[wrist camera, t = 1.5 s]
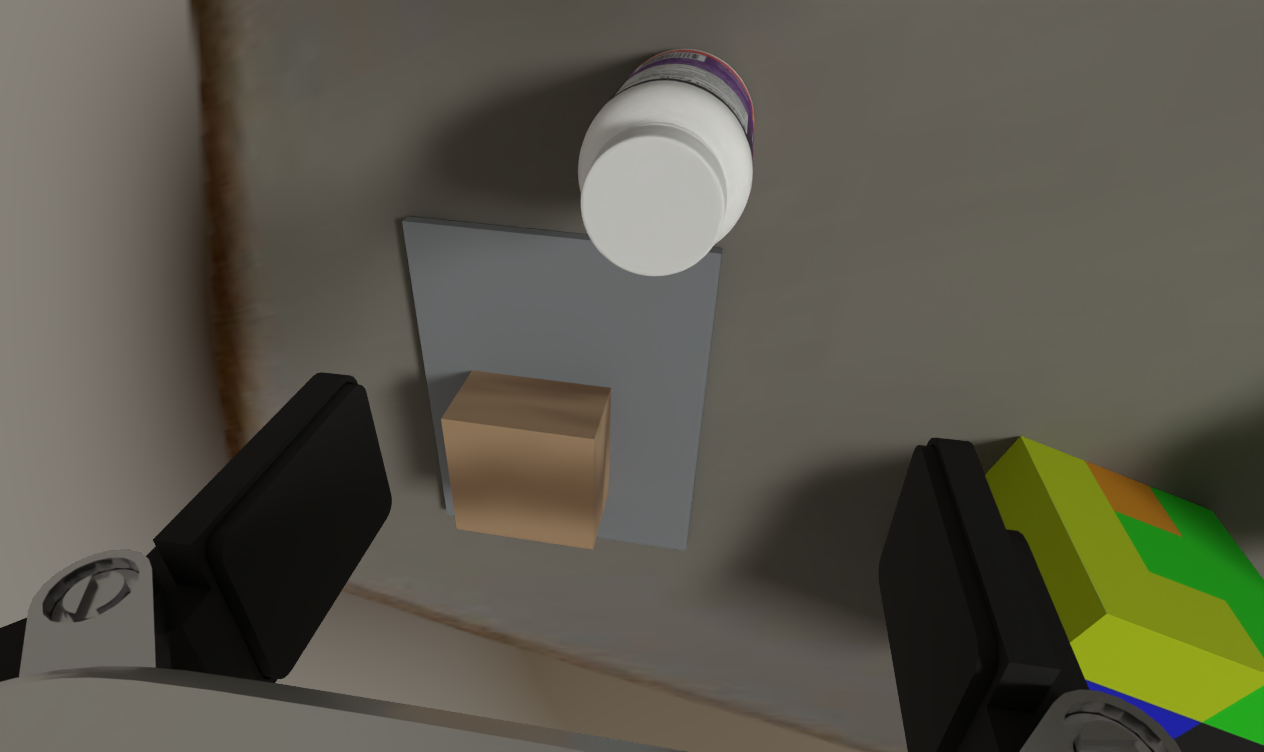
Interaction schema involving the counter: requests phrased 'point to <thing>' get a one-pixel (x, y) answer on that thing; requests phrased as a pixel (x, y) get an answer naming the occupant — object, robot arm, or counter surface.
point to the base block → (529, 457)
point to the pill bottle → (668, 163)
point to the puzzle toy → (1144, 594)
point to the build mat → (575, 350)
